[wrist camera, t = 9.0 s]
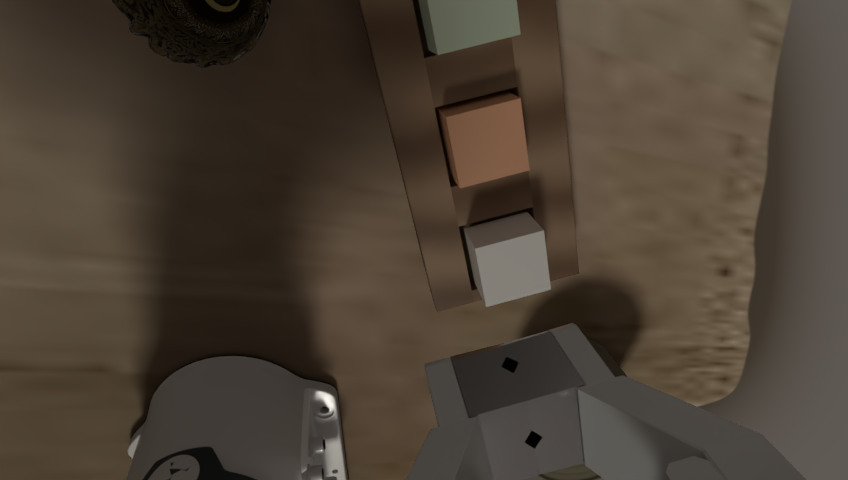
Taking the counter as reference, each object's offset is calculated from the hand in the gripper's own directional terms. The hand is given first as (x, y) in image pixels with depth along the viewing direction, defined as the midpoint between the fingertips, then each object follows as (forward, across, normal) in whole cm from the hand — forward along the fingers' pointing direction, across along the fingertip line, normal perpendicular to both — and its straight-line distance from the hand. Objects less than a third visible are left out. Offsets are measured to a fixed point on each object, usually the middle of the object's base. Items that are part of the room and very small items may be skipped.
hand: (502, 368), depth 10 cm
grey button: (+26, +6, -12) cm, 30 cm away
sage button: (+26, +6, +6) cm, 28 cm away
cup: (+29, -8, +9) cm, 32 cm away
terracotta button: (+28, +6, -4) cm, 29 cm away
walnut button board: (+29, +6, -4) cm, 30 cm away
